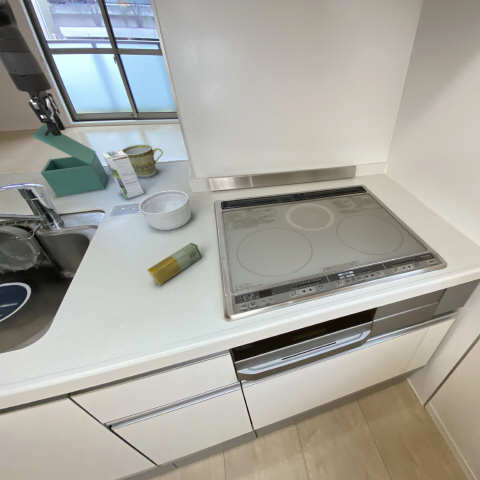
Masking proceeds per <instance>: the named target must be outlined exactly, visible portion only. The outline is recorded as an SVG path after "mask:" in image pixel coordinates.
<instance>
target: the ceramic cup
mask: <svg viewBox="0 0 480 480" xmlns="http://www.w3.org/2000/svg"><path fill="white" fill-rule="evenodd" d="M121 150H122V151H123V152H125V153H126V154H127V155H128V158H129V160H130V162H131V164H132V167H133V169H134V171H135V173H136V176H137V177H140V178H151V177H152V176H155V175H156V174H157V167H156V164H157V162H158V161H159V159H160V158H161V157H162V156H163V153H164V151H163V150H162V149H161V148H158V147H157V148H154V149H153V146H152V145H149V144H134V145H133V144H132V145H129V146H126V147H124V148H122V149H121ZM158 151H159V152H161V154H160V155H159V156H158V157H157V159H155V157H154V156H155V153H156V152H158Z"/></svg>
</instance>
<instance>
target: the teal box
mask: <svg viewBox="0 0 480 480" xmlns="http://www.w3.org/2000/svg"><path fill="white" fill-rule="evenodd" d="M40 174H41V176H42V177H43V179H44V180H45V181H46V183H47V184H48V185H49V187H50V189H51V190H52V191H53V192H54V194H55V195H56V197H63V196H69V195H74V194H81V193H87V192H88V193H89V192H93V191H97V190H98V191H99V190H104V189H105V188H106V184H107V181H108V174H107V172H106V170H105V168H104V165H103V164H102V162H101V160H100V158H99V156H98V155H97V153H95V156H94V158H93V161H92V164H91V165H89V164H87V163H85V162H83V161H81V160H79V159H77V158H75V157H73V156H66V157H65V156H64V157H58V158H50V159H48V161H47V162H46V163H45V165H44V166H43V168H42V170H41V171H40ZM105 190H106V189H105Z"/></svg>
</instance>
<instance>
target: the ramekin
mask: <svg viewBox="0 0 480 480" xmlns="http://www.w3.org/2000/svg"><path fill="white" fill-rule="evenodd" d="M138 209H139V211H140V213H141V214H142V216H143V217H144V218H145V219H146V221H147V222H148V224H149V225H151V227H152V228H154V229H156V230H160V231H171V230H175V229H178V228H181V227H183V226H184V225H186V224H187V223H188V222H189V221H190V219H191V217H192V209H191V204H190V198H189V196H188V194H187V193H186V192H184V191H181V190H175V189H172V190H171V189H168V190H163V191H157V192H155V193H153V194H150V195H148V196H146V197H145V198H143V199H142V200H141V201H140V202H139V204H138Z"/></svg>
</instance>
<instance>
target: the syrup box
mask: <svg viewBox="0 0 480 480" xmlns="http://www.w3.org/2000/svg"><path fill="white" fill-rule="evenodd" d="M122 150H123V149H117V150H110V151H106V152H104V153H102V157H103V159H104V160H105V163H106V165H107V167H108V169H109V170H110V173H111V175H112V177H113V179H114V181H115V183H116V185H117V187H118V189H119V191H120V193H121V194H122V196H124V198H126V199H128V200H129V199H132V198H134V197H138V196H140V195H143V194H145V192H144V189H143V187H142V185H141V182H140V180H139V178H138V175H137V174H136V173H135V171H134V169H133V167H132V164H131V162H130V160H129V158H128V155H127V154H126V153H125V152H123V151H122Z"/></svg>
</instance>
